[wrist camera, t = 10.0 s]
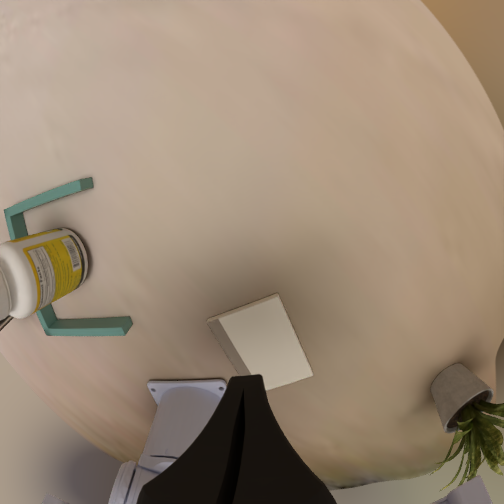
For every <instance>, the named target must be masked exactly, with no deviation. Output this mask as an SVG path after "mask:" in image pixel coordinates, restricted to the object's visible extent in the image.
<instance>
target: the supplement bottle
mask: <svg viewBox="0 0 504 504" xmlns="http://www.w3.org/2000/svg"><path fill="white" fill-rule="evenodd" d="M87 269H88V260H87V254H86V251H85V248H84V246H83V244H82V242H81V240H80V239H79V238H78V236H77V235H76V234H75V233H73V232H72V231H70V230H68V229H65V228H58V229H53V230H49V231H45V232H41V233H37V234H33V235H29V236H26V237H22V238H18V239H14V240H10V241H7V242H4V243H2V244H0V321H1V320H3V319H5V318H6V317H7V316H8V315H11V316H12V317H15V318H19V319H21V318H26V317H28V316H30V315H32V314H33V313H35V312H37V311H38V310H40V309H42V308H44V307H45V306H47V305H49V304H50V303H52V302H54V301H56V300H57V299H59V298H61V297H63V296H65V295H66V294H68V293H70V292H72V291H73V290H75V289H77V288H78V287H79V286H80V285H81V284H82V283H83V282H84V280H85V278H86V275H87Z"/></svg>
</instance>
